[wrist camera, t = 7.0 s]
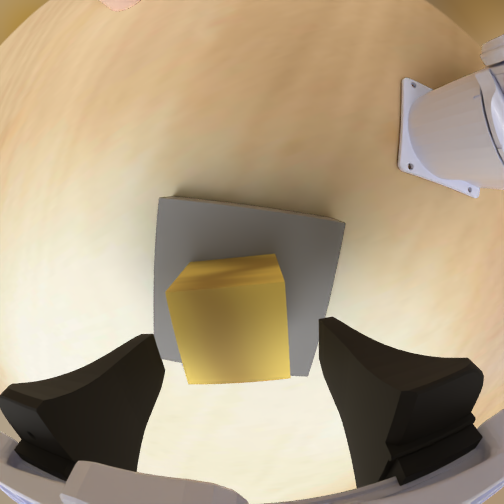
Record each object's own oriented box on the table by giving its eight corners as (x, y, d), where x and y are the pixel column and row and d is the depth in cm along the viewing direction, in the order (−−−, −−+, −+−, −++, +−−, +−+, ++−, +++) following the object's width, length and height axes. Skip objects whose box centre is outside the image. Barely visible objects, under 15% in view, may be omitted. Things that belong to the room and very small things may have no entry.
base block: (329, 216, 19) (345, 223, 15) (300, 350, 21) (307, 376, 18) (174, 196, 18) (159, 197, 15) (167, 333, 21) (154, 357, 18)
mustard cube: (274, 253, 16) (284, 281, 11) (280, 329, 17) (290, 378, 12) (189, 262, 16) (165, 292, 11) (203, 336, 17) (188, 384, 12)
